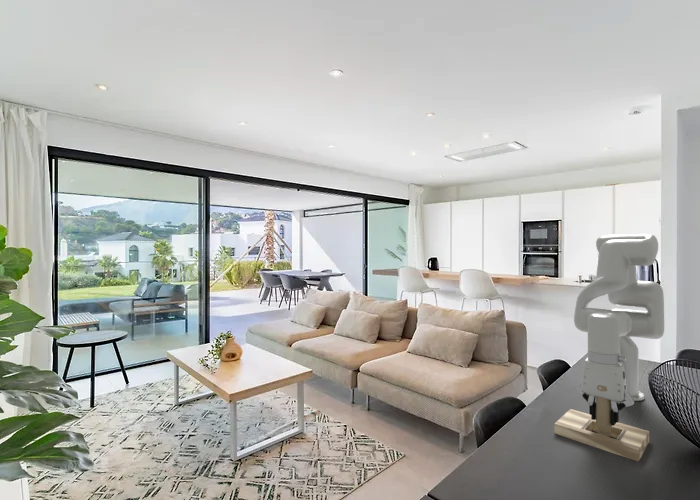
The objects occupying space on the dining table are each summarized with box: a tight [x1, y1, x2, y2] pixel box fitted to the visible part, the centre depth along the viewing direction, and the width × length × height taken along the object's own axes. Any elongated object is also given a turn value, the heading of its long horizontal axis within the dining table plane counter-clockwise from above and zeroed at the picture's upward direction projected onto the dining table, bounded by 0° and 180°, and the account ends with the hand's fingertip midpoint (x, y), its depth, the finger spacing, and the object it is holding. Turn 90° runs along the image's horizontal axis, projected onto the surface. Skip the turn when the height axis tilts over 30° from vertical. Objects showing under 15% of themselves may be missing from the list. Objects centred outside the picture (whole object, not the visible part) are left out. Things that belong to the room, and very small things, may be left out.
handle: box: [595, 385, 612, 437], centre depth 106 cm, size 5×6×15 cm
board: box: [554, 408, 650, 462], centre depth 108 cm, size 14×20×3 cm
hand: (603, 420), depth 106 cm, fingers closed on handle, 4 cm apart
